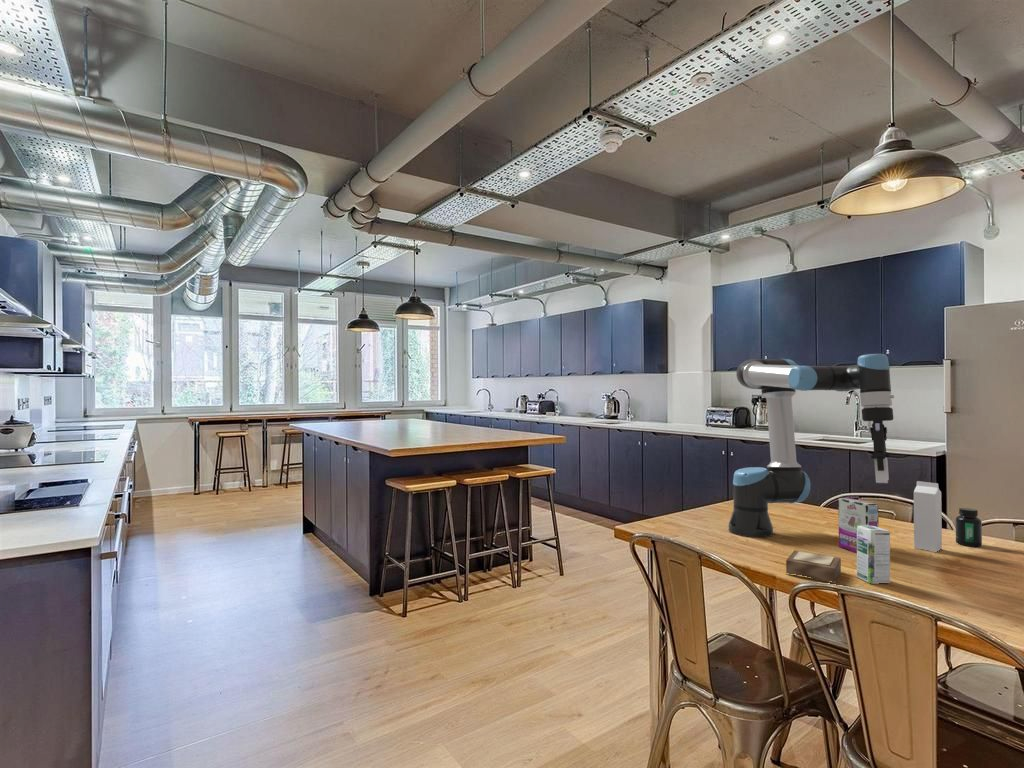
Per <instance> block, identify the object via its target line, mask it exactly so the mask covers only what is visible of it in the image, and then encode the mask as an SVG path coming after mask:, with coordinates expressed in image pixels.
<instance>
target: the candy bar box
mask: <svg viewBox="0 0 1024 768" xmlns="http://www.w3.org/2000/svg"><path fill="white" fill-rule="evenodd" d="M863 525H869V526H876V527H879V525H880V524H879V503H875V502H871V501H867V500H866V501H865V500H861V499H856V498H851V497H843V498H842V497H841V498H838V548H840V549H843V550H847V551H849V552H853V553H856V554H857V526H863ZM879 528H880V527H879Z"/></svg>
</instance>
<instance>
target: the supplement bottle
mask: <svg viewBox="0 0 1024 768" xmlns="http://www.w3.org/2000/svg"><path fill="white" fill-rule="evenodd" d="M978 512H979V511H978V510H977V509H974V508H970V507H969V508H968V507H959V508H958V514H959V515H957V516H956V518H955V542H956V544H957V543H958V544H957V545H959V544H960V546H962V545H963V547H969V548H981V547H982V546H983V541H982V540H983V523H982V520H981V518H979V517H978V516H979V513H978Z"/></svg>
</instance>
